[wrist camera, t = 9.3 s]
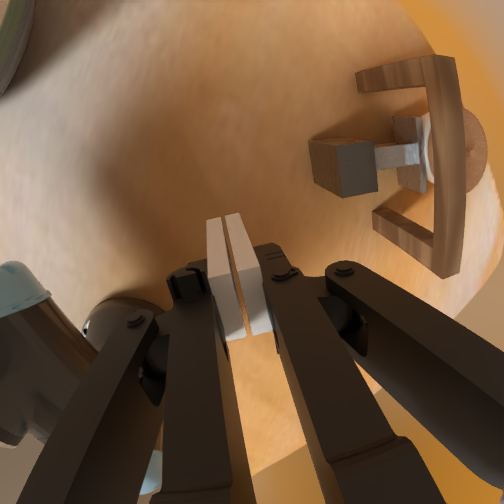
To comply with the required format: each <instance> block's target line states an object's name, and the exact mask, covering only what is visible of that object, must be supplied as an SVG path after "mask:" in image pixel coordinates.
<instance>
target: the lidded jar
mask: <svg viewBox="0 0 504 504" xmlns="http://www.w3.org/2000/svg"><path fill="white" fill-rule="evenodd" d="M462 110H463V120H464V131H465V148H466V193H467V192H469V191H471V190H472V189H473V188H474V187H475V186H476V185H477V184H478V183H479V181H480V180H481V178H482V176H483V173H484V171H485V167H486V162H487V141H486V137H485V133H484V130H483V128H482V126H481V124H480V122H479V121H478V119H477V118H476V117H475V116H474V115H473V114H472V113H471V112H470V111H468V110H466V109H463V108H462ZM421 117H422V122H423V132H424V143H425V146H424V151H425V160H426V179H427V180H428V181H430V182H431V183H433V184H434V163H433V146H432V134H431V124H430V114H429V112H427V113H425V114H424V115H422V116H421Z"/></svg>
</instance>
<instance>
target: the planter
mask: <svg viewBox="0 0 504 504" xmlns="http://www.w3.org/2000/svg"><path fill="white" fill-rule="evenodd" d="M35 4H36V0H0V98H1V96H2V94H3V93H4V91H5V90H6V88H7V86H8V85H9V83H10V81H11V79H12V77H13V75H14V73H15V71H16V69H17V67H18V65H19V63H20V61H21V58H22V56H23V53H24V51H25V48H26V45H27V43H28V40H29V36H30V33H31V29H32V25H33V20H34V14H35Z"/></svg>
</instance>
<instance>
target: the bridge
mask: <svg viewBox="0 0 504 504" xmlns="http://www.w3.org/2000/svg"><path fill="white" fill-rule="evenodd" d="M355 75H356V80H357V86H358V91H359V92H378V91H386V90H395V89H404V88H415V87H426V92H427V99H428V106H429V114H430V124H431V134H432V146H433V163H434V233H432V232H431V231H429V230H427V229H425V228H424V227H422V226H420V225H418V224H416V223H415V222H413V221H411V220H409V219H407V218H406V217H404V216H402V215H400V214H398V213H396V212H394V211H392V210H391V209H389V208H385V209H380V210H376V211H372V220H373V229H374V230H375V231H377V232H378V233H380V234H381V235H382V236H384V237H385V238H387V239H388V240H390V241H391V242H392V243H394V244H395V245H397V246H398V247H399V248H401V249H402V250H404V251H405V252H406V253H408V254H409V255H410V256H412V257H413V258H415V259H416V260H417V261H419V262H420V263H421V264H423V265H424V266H425V267H427V268H428V269H429V270H431V271H432V272H433V273H435V274H436V275H437V276H438V277H440V278H441V279H445V278H448V277H450V276H453V275H455V274H458V273H459V272H460V265H461V257H462V249H463V238H464V226H465V210H466V148H465V131H464V120H463V110H462V101H461V94H460V88H459V81H458V75H457V69H456V64H455V59H454V58H453V57H448V56H442V55H435V54H434V55H429V56H424V57H419V58H414V59H409V60H405V61H400V62H396V63H392V64H388V65H384V66H380V67H376V68H372V69H369V70H365V71H361V72H358V73H355Z"/></svg>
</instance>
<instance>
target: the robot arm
mask: <svg viewBox="0 0 504 504" xmlns="http://www.w3.org/2000/svg"><path fill="white" fill-rule="evenodd" d="M225 220H226V224H227V229H228V233H229V238H230V242H231V247H232V251H233V255H234V260H235V264H236V269H237V273H238V277H239V281H240V285H241V290H242V294H243V298H244V302H245V306H246V310H247V314H248V318H249V323H250V327H251V331H252V335H257V334H261V333H265V332H269V331H273V333H274V338H275V343H276V348H277V354H279V355H280V358H281V361H282V364H283V368H284V371H285V374H286V377H287V381H288V384H289V387H290V390H291V394H292V397H293V400H294V403H295V406H296V410H297V413H298V416H299V419H300V423H301V426H302V429H303V432H304V435H305V439H306V442H307V445H308V448H309V451H310V454H311V458H312V461H313V464H314V467H315V470H316V473H317V477H318V480H319V483H320V486H321V490H322V493H323V496H324V499H325V503H326V504H446V502H445V501H444V499H443V497H442V495H441V493H440V491H439V489H438V487H437V485H436V483H435V481H434V480H433V478H432V476H431V474H430V472H429V470H428V468H427V467H426V465H425V463H424V461H423V459H422V458H421V456H420V454H419V452H418V450H417V449H416V447H415V446H414V445H413V443H412V442H411V440H409V439H408V438H407V437H405V436H397V435H396V434H395V433H394V432H393V430H392V429H391V427H390V425H389V423H388V421H387V419H386V417H385V416H384V414H383V412H382V410H381V409H380V407H379V405H378V403H377V401H376V399H375V398H374V396H373V394H372V392H371V390H370V388H369V387H368V385H367V383H366V381H365V380H364V378H363V376H362V374H361V372H360V371H359V369H358V367H357V365H356V364H355V362H357V363H358V364H359V365H360V366H361V367H362V368H363V369H364V370H365V371H366V372H367V373H368V374H369V375H370V376H371V377H372V378H373V379H374V380H375V381H376V382H377V383H378V384H380V385H381V386H382V387H383V388H384V389H385V390H386V391H387V392H388V393H389V394H390V395H391V396H392V397H393V398H394V399H395V400H396V401H398V403H400V404H401V405H402V406H403V407H404V408H405V409H406V410H407V411H408V412H409V413H410V414H411V415H412V416H413V417H414V418H415V419H416V420H417V421H419V423H421V424H422V425H423V426H424V427H425V428H426V429H427V430H428V431H429V432H430V433H431V434H432V435H433V436H434V437H435V438H436V439H438V440H439V441H440V442H441V443H442V444H443V445H444V446H445V447H446V448H447V449H448V450H449V451H450V452H451V453H452V454H453V455H454V456H456V457H457V458H458V459H459V460H460V461H461V462H462V463H463V464H464V465H465V466H466V467H467V468H468V469H470V470H471V471H472V472H473V473H474V474H476V475H477V476H478V477H480V478H481V479H482V480H484V481H486V482H487V483H489V484H491V485H492V486H494V487H497V488H499V489H502V490H503V495H502V496H501V499H500V504H504V352H502V351H501V350H500V349H498V348H497V347H495V346H494V345H492V344H491V343H489V342H487V341H486V340H484V339H483V338H481V337H480V336H478V335H477V334H475V333H473V332H472V331H470V330H469V329H467V328H466V327H464V326H463V325H461V324H459V323H458V322H456V321H455V320H453V319H452V318H450V317H448V316H447V315H445V314H443V313H442V312H440V311H439V310H437V309H435V308H434V307H432V306H430V305H429V304H427V303H426V302H424V301H422V300H421V299H419V298H417V297H416V296H414V295H412V294H411V293H409V292H407V291H406V290H404V289H402V288H401V287H399V286H397V285H396V284H394V283H392V282H390V281H389V280H387V279H385V278H384V277H382V276H380V275H378V274H377V273H375V272H373V271H371V270H370V269H368V268H366V267H365V266H363V265H361V264H359V263H356V262H353V261H347V260H345V261H338V262H336V263H333V264H331V265H329V266H328V267H327V268H326V269H325V276H320V277H307V276H304V275H303V274H302V272H301V271H300V270H299V269H298V268H296V267H293V266H291V264H290V263H289V261H288V259H287V258H286V256H285V254H284V253H283V251H282V249H281V248H280V246H278V245H276V244H274V243H269V244H264V245H260V246H256V247H252V245H251V242H250V240H249V237H248V235H247V232H246V229H245V227H244V224H243V222H242V219H241V217H240V214H239V213H235V214H230V215H226V216H225ZM206 227H207V259H204V260H200V261H195V262H191V263H188V265H187V266H186V267H184V268H181V269H178V270H176V271H175V272H173V273H171V274H170V275H169V276H168V277H167V279H166V281H167V284H168V287H169V290H170V293H171V295H172V298H173V309H171V310H170V311H168V312H165V311H163V310H162V309H160V308H159V307H157V306H155V305H153V304H151V303H148V302H146V301H143V300H139V299H134V298H115V299H110V300H107V301H105V302H103V303H101V304H99V305H98V306H96V307H95V308H94V309H93V310H92V311H91V313H90V314H89V316H88V318H87V320H86V322H85V324H84V326H83V329H82V334H81V333H80V331H79V330H78V329H77V328H76V327H75V326H74V325H73V323H72V322H71V321H70V320H69V319H68V318H67V316H66V315H65V314H64V313H63V312H62V311H61V309H60V308H59V307H58V306H57V304H56V303H55V302H54V301H53V299H52V298H51V297H50V296H51V295H52V294H51V293H50V291H48V290H45V288H44V287H43V286H42V285H41V284H40V282H39V281H38V280H37V279H36V277H35V276H34V275H33V274H32V272H31V271H30V270H29V269H28V267H27V266H26V265H24V264H23V263H21V262H18V261H9V262H6V263H4V264H2V265H0V447H4V448H15V447H16V446H17V445H18V444H19V443H20V441H21V440H22V439H23V437H24V436H25V435H26V434H27V433H30V434H32V435H33V436H34V437H36V438H37V439H38V440H39V441H41V442H42V443H43V444H45V446H44V448H43V450H42V452H41V454H40V455H39V457H38V459H37V461H36V464H35V465H34V467H33V469H32V471H31V474H30V475H29V477H28V479H27V482H26V484H25V486H24V488H23V490H22V492H21V494H20V497H19V499H18V501H17V503H16V504H137V500H138V497H139V495H141V494H146V493H150V492H152V491H154V490H156V489H157V488H158V487H160V486H161V484H162V488H161V490H160V492H158V493H156V494H154V495H152V497H151V500H150V502H149V504H257V503H256V499H255V494H254V489H253V484H252V479H251V474H250V469H249V464H248V458H247V453H246V448H245V443H244V437H243V432H242V426H241V421H240V415H239V409H238V404H237V398H236V392H235V386H234V380H233V374H232V368H231V361H230V355H229V349H228V346H227V343H226V340H227V341H231V340H236V339H240V338H244V337H247V335H246V330H245V326H244V321H243V316H242V311H241V307H240V302H239V297H238V292H237V287H236V283H235V278H234V273H233V268H232V263H231V259H230V255H229V250H228V246H227V242H226V238H225V234H224V229H223V225H222V221H221V217H217V218H213V219H209V220H206ZM272 328H273V330H272ZM225 337H226V340H225ZM354 361H355V362H354Z"/></svg>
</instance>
